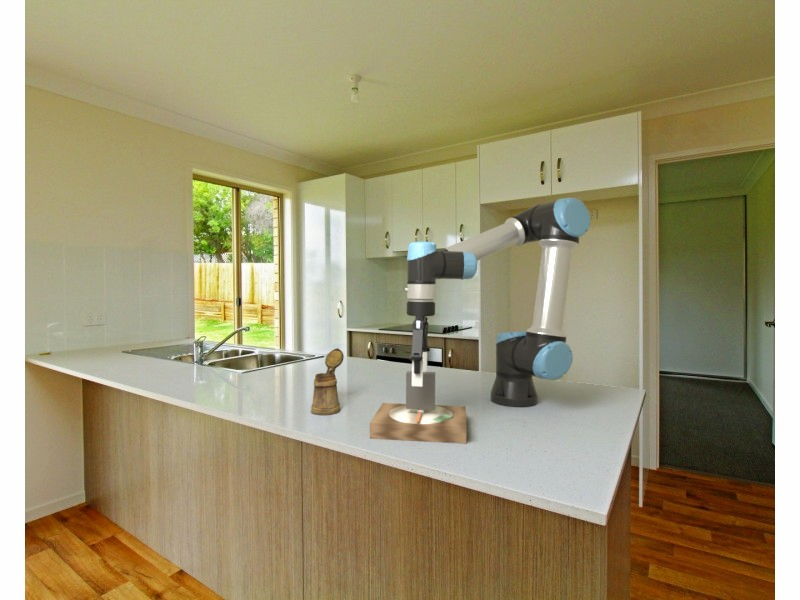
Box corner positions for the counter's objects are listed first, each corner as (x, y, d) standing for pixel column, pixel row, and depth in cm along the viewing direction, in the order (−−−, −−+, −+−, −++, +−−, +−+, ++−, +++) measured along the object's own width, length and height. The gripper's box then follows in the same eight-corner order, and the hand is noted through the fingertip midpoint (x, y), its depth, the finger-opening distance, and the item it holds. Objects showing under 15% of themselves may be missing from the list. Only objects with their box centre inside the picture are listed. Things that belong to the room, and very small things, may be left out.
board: (465, 420, 124) (465, 405, 124) (466, 443, 106) (466, 425, 106) (382, 416, 127) (382, 401, 127) (369, 438, 109) (369, 421, 109)
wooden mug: (351, 404, 140) (350, 348, 139) (332, 416, 127) (332, 355, 126) (325, 401, 143) (325, 347, 142) (305, 413, 130) (305, 353, 129)
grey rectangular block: (435, 411, 117) (435, 372, 117) (432, 424, 107) (432, 380, 106) (407, 410, 118) (407, 371, 118) (402, 422, 108) (402, 379, 108)
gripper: (412, 298, 128) (411, 370, 129) (400, 302, 103) (399, 390, 104) (437, 299, 127) (436, 371, 128) (432, 302, 102) (430, 392, 103)
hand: (419, 380), depth 116 cm, fingers open, 13 cm apart
